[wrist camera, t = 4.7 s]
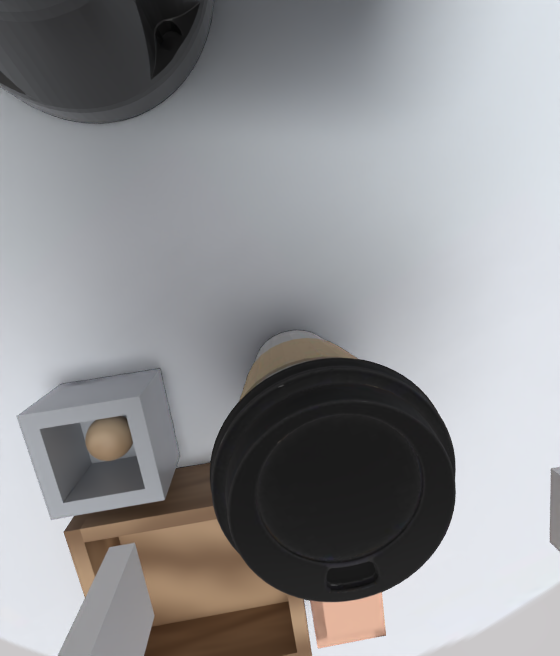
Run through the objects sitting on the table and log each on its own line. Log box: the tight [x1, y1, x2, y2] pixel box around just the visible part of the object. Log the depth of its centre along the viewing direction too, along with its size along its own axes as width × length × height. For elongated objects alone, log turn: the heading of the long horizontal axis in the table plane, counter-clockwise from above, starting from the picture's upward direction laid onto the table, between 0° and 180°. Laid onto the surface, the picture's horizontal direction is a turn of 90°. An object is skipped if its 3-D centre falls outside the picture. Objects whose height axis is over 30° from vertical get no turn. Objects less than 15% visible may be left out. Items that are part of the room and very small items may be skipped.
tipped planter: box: [310, 592, 386, 648], centre depth 28 cm, size 7×5×5 cm
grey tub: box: [17, 369, 180, 520], centre depth 25 cm, size 7×7×5 cm
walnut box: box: [64, 463, 312, 656], centre depth 27 cm, size 14×14×5 cm
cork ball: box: [85, 416, 133, 461], centre depth 25 cm, size 3×3×3 cm
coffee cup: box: [210, 330, 456, 602], centre depth 20 cm, size 9×9×15 cm
